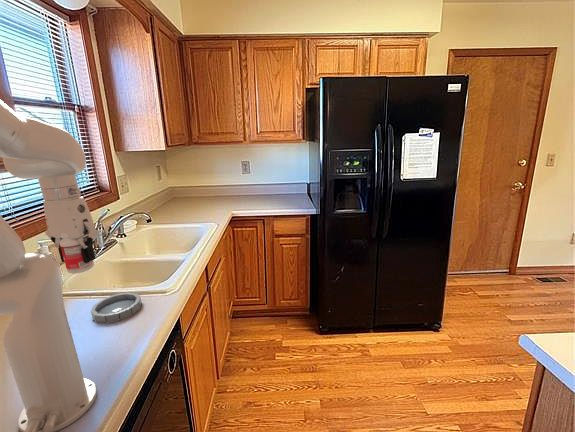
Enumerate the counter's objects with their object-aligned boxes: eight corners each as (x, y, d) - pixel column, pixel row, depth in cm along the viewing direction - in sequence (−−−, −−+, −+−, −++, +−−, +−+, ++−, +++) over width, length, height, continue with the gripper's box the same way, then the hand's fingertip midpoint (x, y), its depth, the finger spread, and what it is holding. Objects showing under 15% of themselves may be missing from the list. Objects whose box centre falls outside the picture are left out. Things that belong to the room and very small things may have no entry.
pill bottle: (75, 265, 88) (64, 227, 85) (98, 263, 88) (89, 224, 85) (62, 275, 82) (51, 234, 79) (87, 273, 82) (77, 232, 79)
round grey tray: (138, 316, 93) (136, 309, 92) (87, 326, 89) (85, 320, 89) (143, 295, 105) (142, 289, 104) (99, 304, 101) (97, 297, 101)
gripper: (102, 189, 81) (117, 255, 86) (47, 190, 85) (64, 253, 90) (78, 196, 74) (95, 268, 79) (18, 197, 78) (39, 265, 83)
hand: (78, 259), depth 84 cm, fingers closed on pill bottle, 6 cm apart
